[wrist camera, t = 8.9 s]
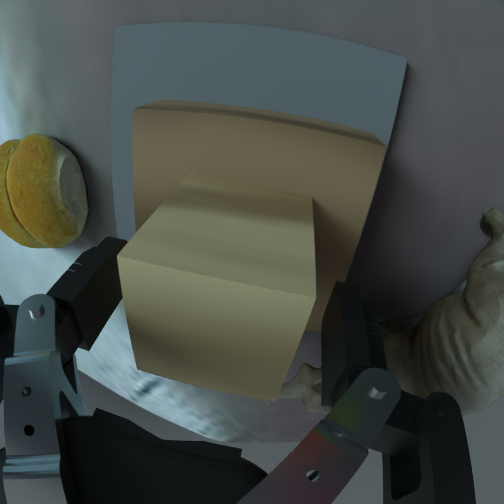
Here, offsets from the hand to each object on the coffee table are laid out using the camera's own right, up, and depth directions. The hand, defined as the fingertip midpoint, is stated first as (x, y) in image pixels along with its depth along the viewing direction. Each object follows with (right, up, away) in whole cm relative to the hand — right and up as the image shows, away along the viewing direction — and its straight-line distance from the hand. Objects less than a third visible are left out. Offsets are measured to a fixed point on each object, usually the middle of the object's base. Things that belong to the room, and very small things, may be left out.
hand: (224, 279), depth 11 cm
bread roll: (-13, +6, +7) cm, 16 cm away
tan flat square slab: (+1, +3, +5) cm, 6 cm away
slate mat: (0, +5, +5) cm, 7 cm away
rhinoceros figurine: (+11, -2, +8) cm, 14 cm away
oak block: (+1, +2, +3) cm, 3 cm away
